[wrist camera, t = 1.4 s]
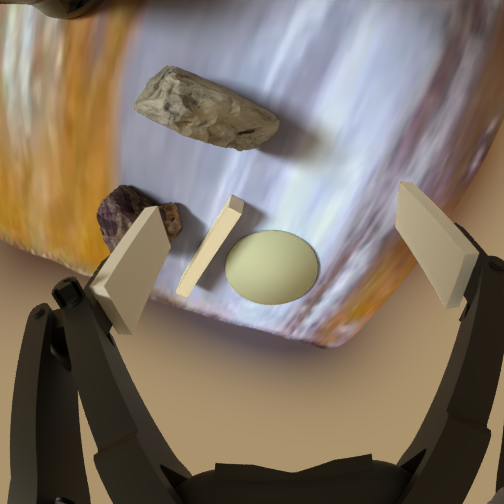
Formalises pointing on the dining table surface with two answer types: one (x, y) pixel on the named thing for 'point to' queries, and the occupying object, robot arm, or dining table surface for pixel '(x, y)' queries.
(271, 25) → the dining table surface
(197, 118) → the decorative rock
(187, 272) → the rail
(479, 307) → the robot arm
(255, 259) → the felt pad
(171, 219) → the rock
